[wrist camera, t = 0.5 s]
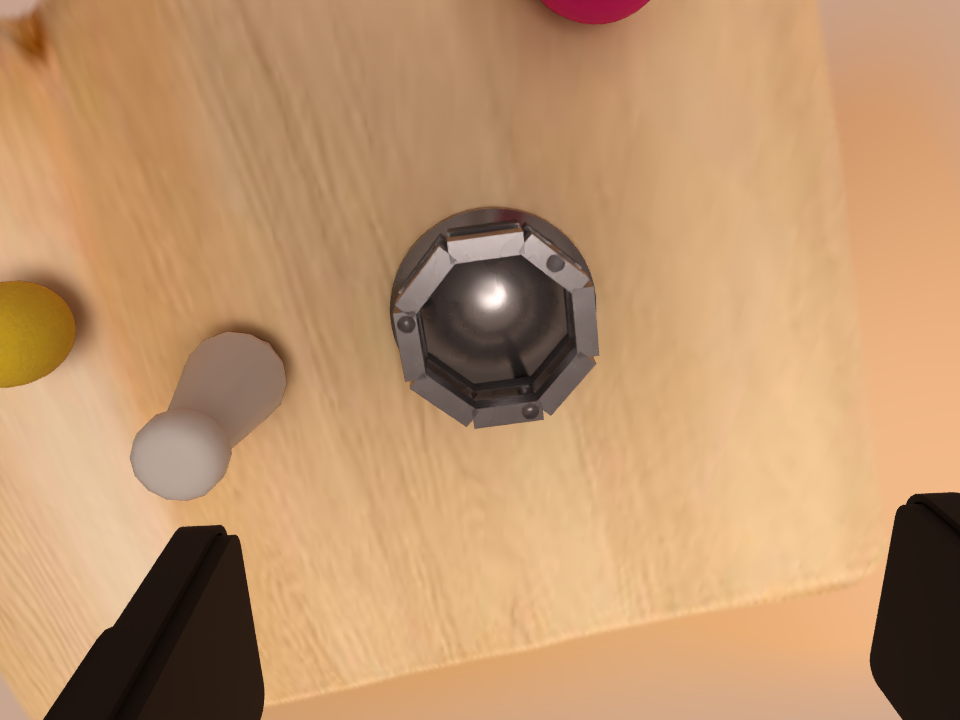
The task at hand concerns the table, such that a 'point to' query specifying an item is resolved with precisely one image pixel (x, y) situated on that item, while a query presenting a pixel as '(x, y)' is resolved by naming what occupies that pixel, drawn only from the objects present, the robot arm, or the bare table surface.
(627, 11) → the pepper mill
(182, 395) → the salt shaker
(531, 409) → the collar stand
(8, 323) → the lemon
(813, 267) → the table surface
